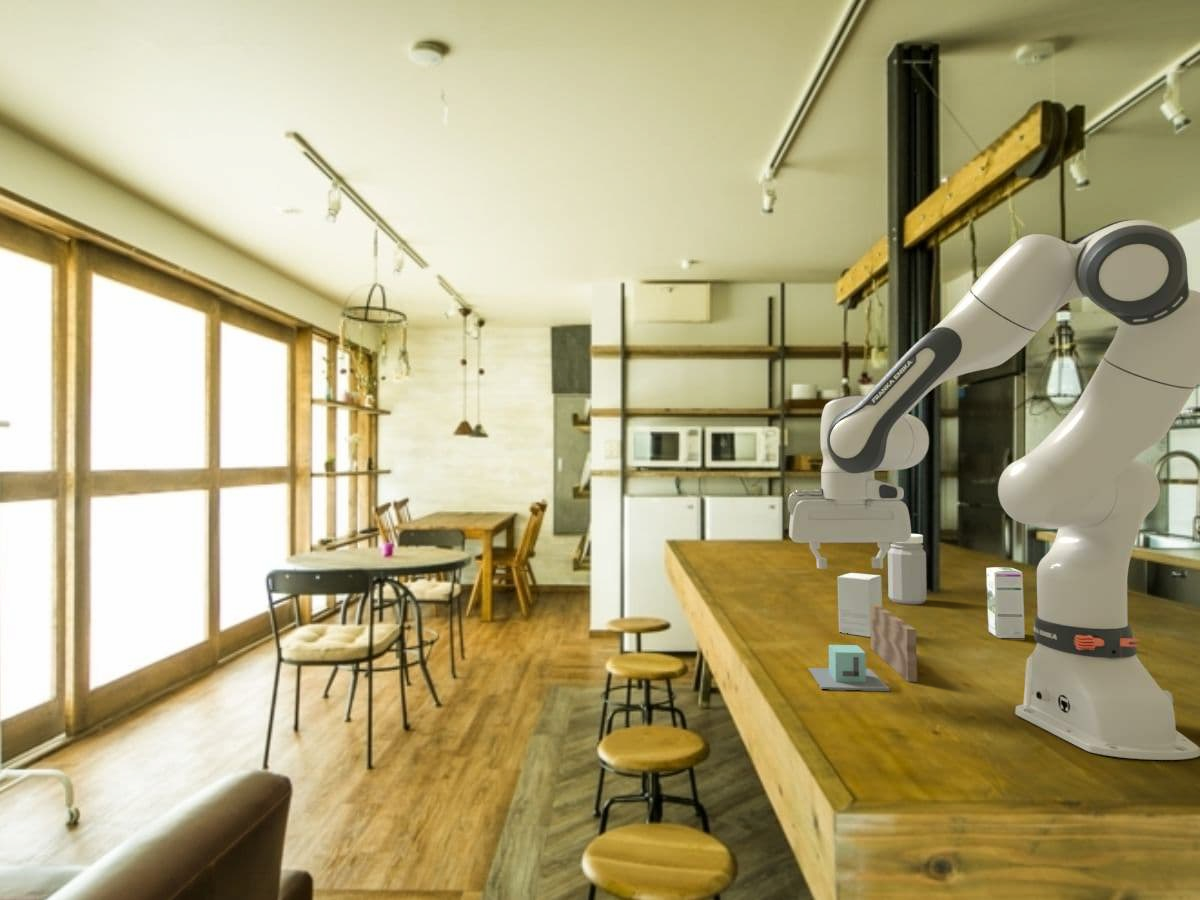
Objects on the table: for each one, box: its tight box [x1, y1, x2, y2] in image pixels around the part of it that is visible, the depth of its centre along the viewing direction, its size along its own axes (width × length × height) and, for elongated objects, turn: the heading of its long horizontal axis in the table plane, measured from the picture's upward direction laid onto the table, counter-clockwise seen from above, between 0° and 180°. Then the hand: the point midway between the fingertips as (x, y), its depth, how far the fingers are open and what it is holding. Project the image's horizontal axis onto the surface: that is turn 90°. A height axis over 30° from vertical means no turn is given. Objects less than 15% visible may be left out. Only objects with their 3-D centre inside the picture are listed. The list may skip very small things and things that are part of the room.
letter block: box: [828, 644, 867, 682], centre depth 123 cm, size 5×5×5 cm
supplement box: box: [836, 572, 883, 638], centre depth 158 cm, size 7×7×13 cm
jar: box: [887, 533, 928, 605], centre depth 192 cm, size 10×10×18 cm
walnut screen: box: [870, 604, 918, 683], centre depth 133 cm, size 22×2×9 cm, turn 175°
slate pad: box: [807, 667, 891, 692], centre depth 123 cm, size 11×11×1 cm
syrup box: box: [985, 566, 1026, 639], centre depth 154 cm, size 6×6×14 cm
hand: (849, 568), depth 124 cm, fingers open, 8 cm apart
